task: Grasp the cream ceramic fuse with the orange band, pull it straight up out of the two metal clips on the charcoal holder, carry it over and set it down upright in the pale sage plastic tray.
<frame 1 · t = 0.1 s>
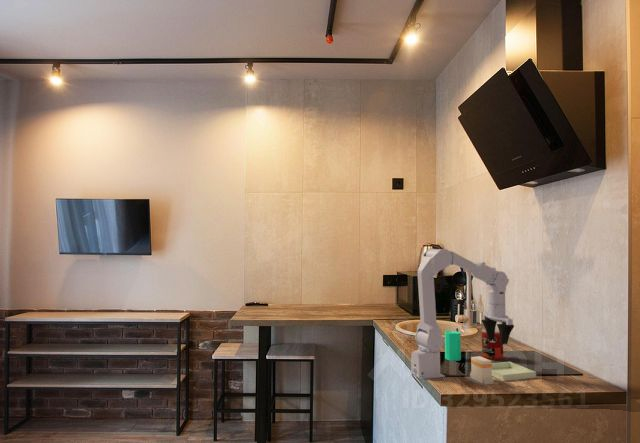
hand: (497, 341, 162), 10 cm above the countertop, fingers open, 7 cm apart
candle: (453, 359, 176), on the countertop
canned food: (492, 358, 177), on the countertop
tray: (506, 375, 155), on the countertop
fuse: (481, 380, 147), point 1 cm above the countertop, touching fuse holder
fuse holder: (481, 382, 147), on the countertop
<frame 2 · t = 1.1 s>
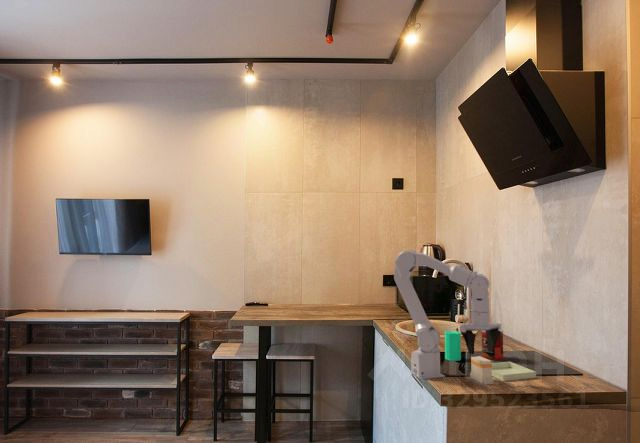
hand: (481, 352, 148), 10 cm above the countertop, fingers open, 7 cm apart
nothing on the countertop moved.
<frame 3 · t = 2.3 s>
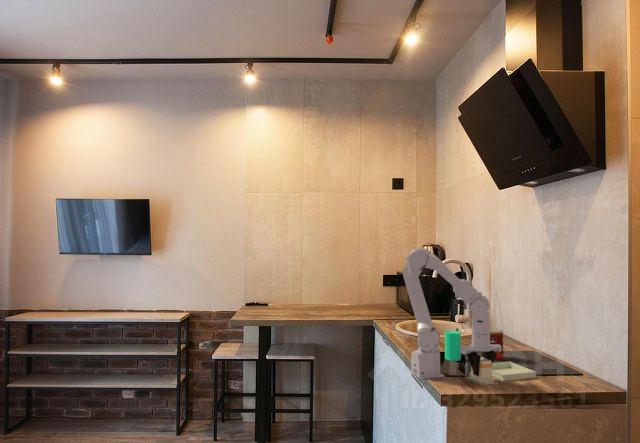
hand: (481, 374, 147), 3 cm above the countertop, fingers closed on fuse, 3 cm apart
fuse: (481, 380, 147), point 1 cm above the countertop, touching fuse holder, gripper
everything else where it was.
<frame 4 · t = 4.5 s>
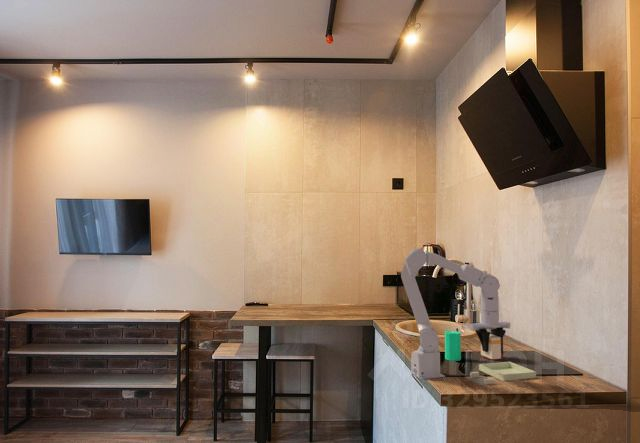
hand: (490, 350, 150), 10 cm above the countertop, fingers closed on fuse, 3 cm apart
fuse: (490, 356, 150), point 8 cm above the countertop, touching gripper
everything else where it was.
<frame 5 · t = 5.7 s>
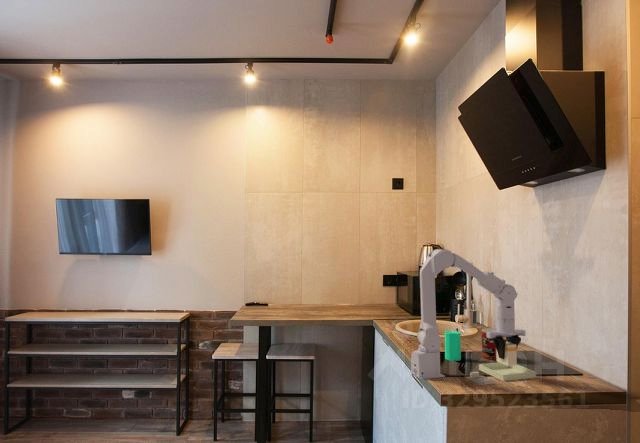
hand: (506, 357, 155), 6 cm above the countertop, fingers closed on fuse, 3 cm apart
fuse: (506, 363, 155), point 4 cm above the countertop, touching gripper
everything else where it was.
when the fingers open (4 cm above the countertop, at t = 6.5 s): fuse stays where it is, resting on tray.
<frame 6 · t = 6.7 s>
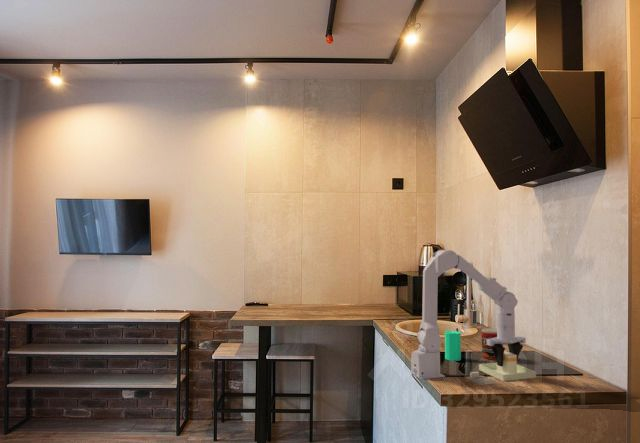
hand: (506, 365, 155), 4 cm above the countertop, fingers open, 5 cm apart
fuse: (506, 373, 155), point 1 cm above the countertop, touching tray
everything else where it was.
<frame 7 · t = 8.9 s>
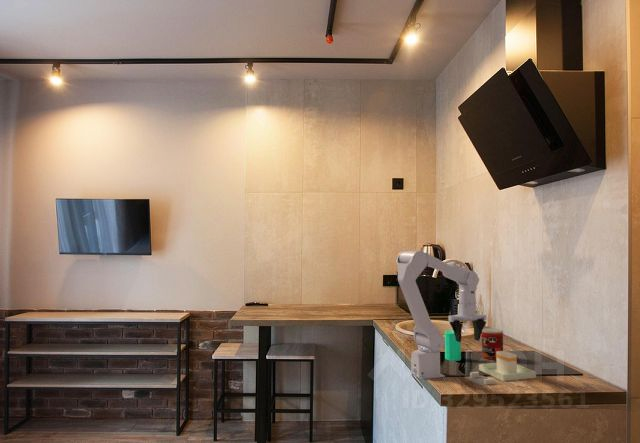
hand: (467, 340, 162), 10 cm above the countertop, fingers open, 7 cm apart
nothing on the countertop moved.
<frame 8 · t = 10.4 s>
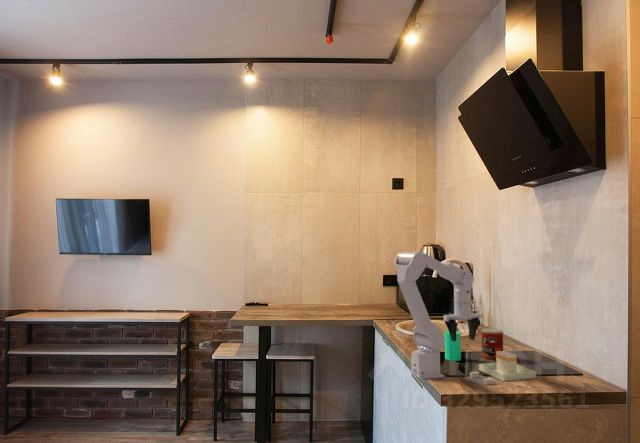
hand: (462, 339, 163), 10 cm above the countertop, fingers open, 7 cm apart
nothing on the countertop moved.
at the end: fuse inside the target area on the tray (0.1 cm from its centre), point 0.6 cm above the tray's base; fuse tilted 0°; the gripper is holding nothing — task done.
